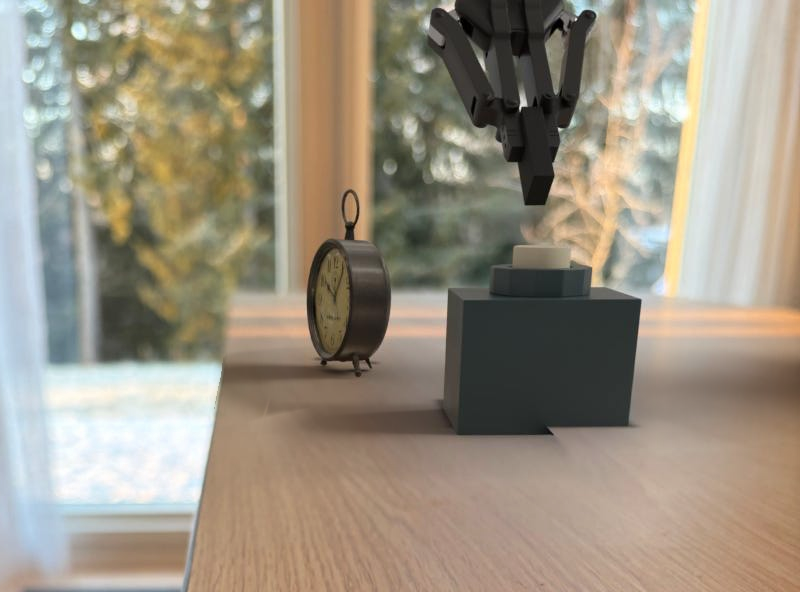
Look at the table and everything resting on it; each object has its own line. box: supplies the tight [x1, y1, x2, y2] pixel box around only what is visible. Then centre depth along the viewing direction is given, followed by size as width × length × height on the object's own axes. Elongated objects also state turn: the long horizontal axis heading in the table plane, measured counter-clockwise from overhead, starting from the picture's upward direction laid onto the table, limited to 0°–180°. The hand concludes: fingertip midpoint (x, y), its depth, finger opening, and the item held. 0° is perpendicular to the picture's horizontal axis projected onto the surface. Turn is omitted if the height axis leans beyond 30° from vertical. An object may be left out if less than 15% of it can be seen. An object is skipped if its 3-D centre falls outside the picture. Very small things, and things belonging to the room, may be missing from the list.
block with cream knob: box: [442, 263, 643, 436], centre depth 77 cm, size 12×10×11 cm
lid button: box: [512, 244, 572, 269], centre depth 75 cm, size 4×4×2 cm
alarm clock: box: [306, 188, 392, 378], centre depth 99 cm, size 11×5×16 cm, turn 22°
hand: (539, 190), depth 74 cm, fingers closed
